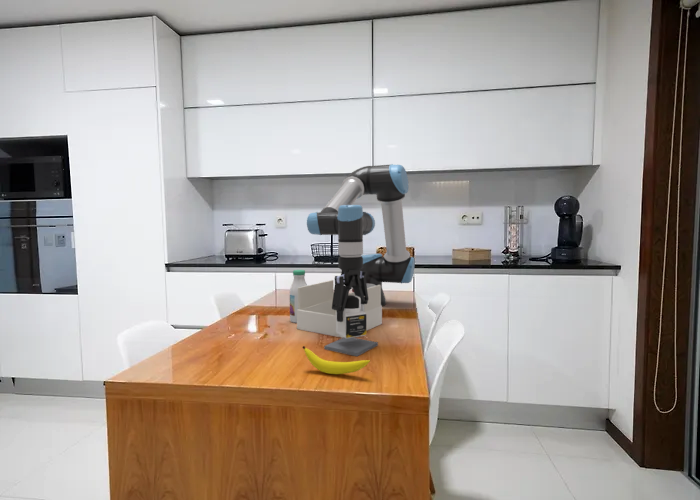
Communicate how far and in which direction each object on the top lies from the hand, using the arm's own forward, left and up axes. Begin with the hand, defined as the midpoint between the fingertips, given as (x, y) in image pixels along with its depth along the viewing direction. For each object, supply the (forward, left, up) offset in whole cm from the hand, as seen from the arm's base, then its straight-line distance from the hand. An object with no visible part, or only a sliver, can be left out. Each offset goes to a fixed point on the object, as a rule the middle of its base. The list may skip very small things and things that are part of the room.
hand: (351, 327), depth 124 cm
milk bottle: (-16, -35, -6) cm, 39 cm away
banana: (+20, +9, -6) cm, 23 cm away
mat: (0, 0, -6) cm, 6 cm away
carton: (-18, -17, -6) cm, 25 cm away
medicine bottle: (0, 0, -2) cm, 2 cm away
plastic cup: (-39, -20, -6) cm, 44 cm away
